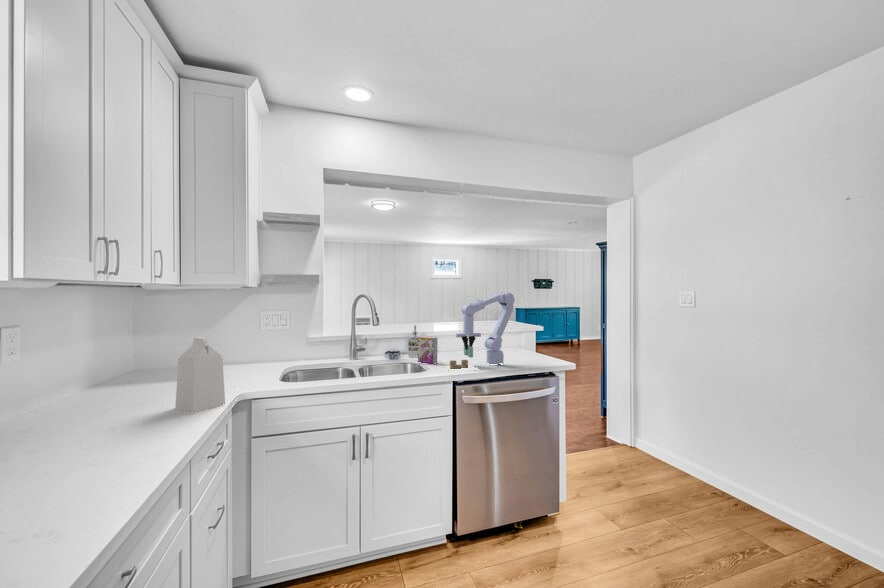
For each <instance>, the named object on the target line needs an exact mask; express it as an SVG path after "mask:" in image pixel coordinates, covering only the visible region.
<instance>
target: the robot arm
mask: <svg viewBox="0 0 884 588" xmlns="http://www.w3.org/2000/svg"><path fill="white" fill-rule="evenodd" d="M515 300H516V298H515V297H514V294H513V293H511V292H499V293H496V294H494V295H492V296H490V297H488V298H485V299H479V298H478V299H476V301H474V302H473V301H472V302H469V304H465V305H464V306H462V309H461V312H462V314H463V333H462V332H461V333H455V338H461V340H462V342H463V347H464V346H465V350H468V345H470V346H472V347H473V345H474V342H475V341H476V338H477V337H479V338H481V336H482V333H481V332H474V329H475V328H474V316H475V314H476V313H478V312H480V311H483V310H484V309H485V308H486V306H489V305H490V304H493V303H496V302H498V303H499V305H500V306H501V308H502V312H501V314H500V316H499V318H498V321H497V323H496V324H495V327H494V329H493V332H492V333H491V334H490V335H488V337H487V339H485V341H484V346H485V349H486V364H487V363H489V364H499V363H503V364H504V352H503V351H502V350H501V348H502V343H503V339H502V336H503V334H504V332H505V330H506V328H507V325H508V323H509V320H510V318H511V316H512V314H513V312H514V303H515Z"/></svg>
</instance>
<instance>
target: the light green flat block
mask: <svg viewBox="0 0 884 588" xmlns="http://www.w3.org/2000/svg"><path fill="white" fill-rule="evenodd" d="M463 356H467V357H468V358H474V346H473V345H472V346H470V345H469V344H468V350H465V346H464V345H463Z"/></svg>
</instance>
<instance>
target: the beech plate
mask: <svg viewBox="0 0 884 588" xmlns="http://www.w3.org/2000/svg"><path fill="white" fill-rule="evenodd" d="M460 361H461V362H460V364H457V360H456V359H455V360H454V359H453V360H449V365H450V369H461V368H468V364H469V360H468V359H461V360H460Z"/></svg>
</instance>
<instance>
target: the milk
mask: <svg viewBox="0 0 884 588" xmlns="http://www.w3.org/2000/svg"><path fill="white" fill-rule="evenodd" d="M223 360H224V359H223V356H222V355H221V354H220V353H219V352H217V350H215V349H214V348H213V347H212V346H211V345H209V341H208V338H207V337H194V338H193V342H192V345H191V346H189V347H188V348H187V349H186V350H185V351H184V352H183V353H182V354H181V355H180V356H179V358H178V360H177V375H176V393H175V406H174V408H175V409H176V408H177V410H180V411H183V410H185V412H187V411H189V412H188V413H191V412H193V413H192V414H196V413H195V412H197V413H200V412H199V411H201V412H204V411H207V410H206V409H208V410H211V409H210V408H212V409H214V408H213V407H215V408H217V407H216V406H219V407H221V406H220V405H222V406H224V405H223V404H225V405H226V396H225V395H226V394H225V377H224V361H223ZM203 410H204V411H203Z"/></svg>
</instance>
